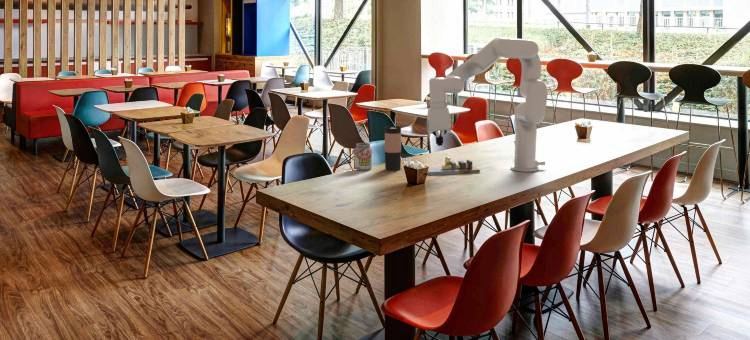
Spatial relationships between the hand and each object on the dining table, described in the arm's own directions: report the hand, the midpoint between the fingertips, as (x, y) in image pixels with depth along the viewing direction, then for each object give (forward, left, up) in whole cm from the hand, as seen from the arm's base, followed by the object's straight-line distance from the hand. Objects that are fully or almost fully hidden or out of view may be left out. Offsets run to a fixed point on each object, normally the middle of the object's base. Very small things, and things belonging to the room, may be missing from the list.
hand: (439, 145), depth 310 cm
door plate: (-1, 0, -13) cm, 13 cm away
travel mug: (+19, -12, -13) cm, 26 cm away
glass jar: (+33, -16, -13) cm, 39 cm away
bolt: (-7, 0, -11) cm, 13 cm away
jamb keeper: (-13, 0, -13) cm, 18 cm away
